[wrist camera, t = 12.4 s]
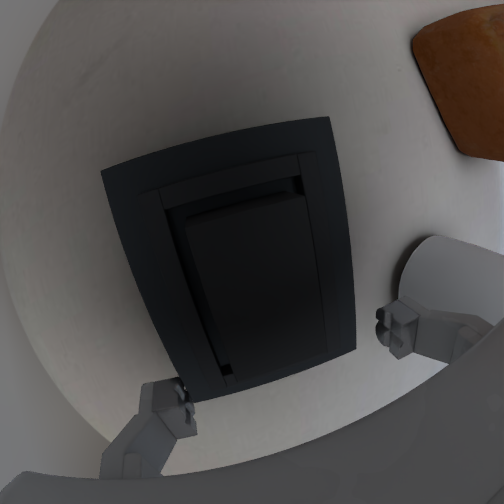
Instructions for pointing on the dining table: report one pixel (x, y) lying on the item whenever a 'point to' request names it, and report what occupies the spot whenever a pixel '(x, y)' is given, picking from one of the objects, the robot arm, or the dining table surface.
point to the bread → (467, 77)
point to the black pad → (260, 281)
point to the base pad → (215, 196)
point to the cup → (455, 278)
